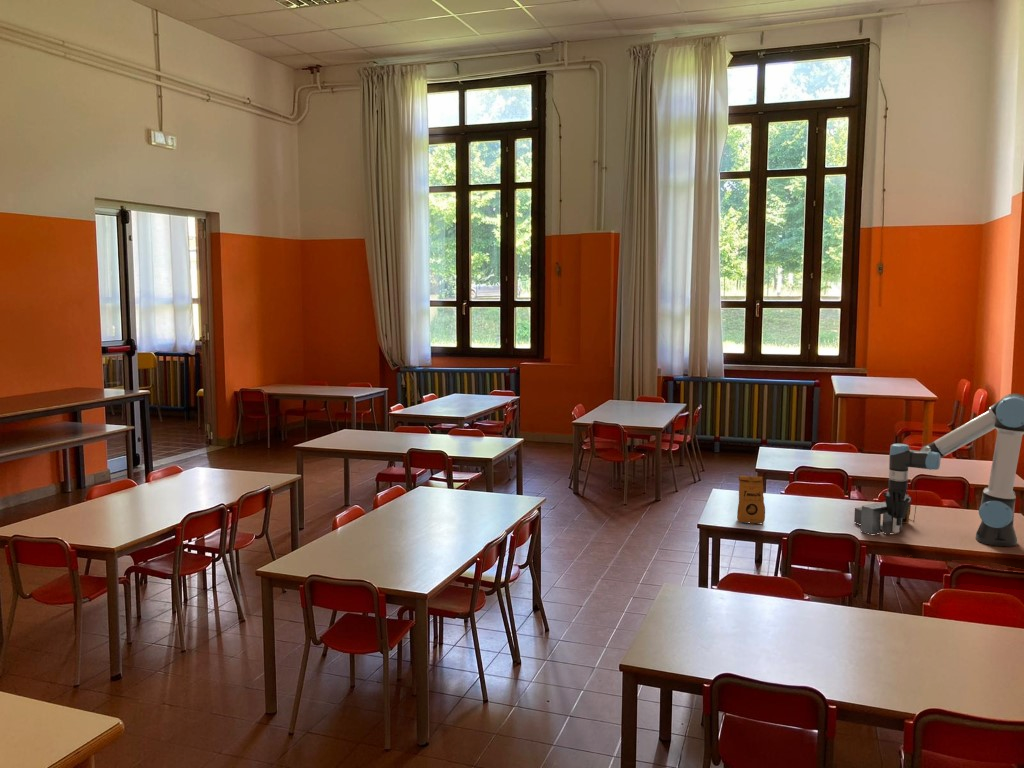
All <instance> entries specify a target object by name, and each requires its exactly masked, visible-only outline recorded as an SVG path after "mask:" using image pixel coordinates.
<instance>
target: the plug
mask: <svg viewBox="0 0 1024 768" xmlns="http://www.w3.org/2000/svg"><path fill="white" fill-rule="evenodd" d="M861 514H862V506H861V507H860V506H859V507H854V519H853V520H854V521H853V522H856V523H859V524H861ZM856 523H855V524H856ZM859 524H858V525H859ZM880 531H881V533H882V532H884V533H886V534H890V533H894V532H893V524H892V521H888V522H883V521H882V522H881V523H880ZM897 533H898V534H899V532H897ZM886 534H885V535H886Z"/></svg>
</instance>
